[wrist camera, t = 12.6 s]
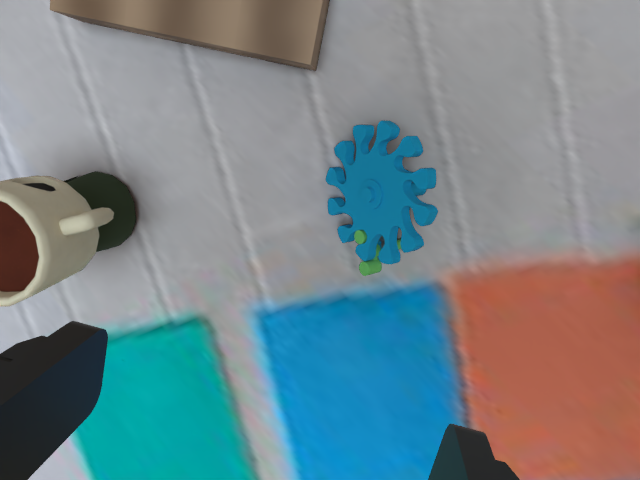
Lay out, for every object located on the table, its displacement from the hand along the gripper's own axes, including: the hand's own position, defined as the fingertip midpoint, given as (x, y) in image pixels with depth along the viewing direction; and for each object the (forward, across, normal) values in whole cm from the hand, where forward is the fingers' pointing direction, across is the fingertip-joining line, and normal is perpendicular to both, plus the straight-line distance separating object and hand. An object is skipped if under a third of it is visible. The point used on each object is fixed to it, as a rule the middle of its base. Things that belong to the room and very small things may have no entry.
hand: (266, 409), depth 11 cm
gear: (+28, -2, -1) cm, 29 cm away
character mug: (+28, +19, +5) cm, 34 cm away
